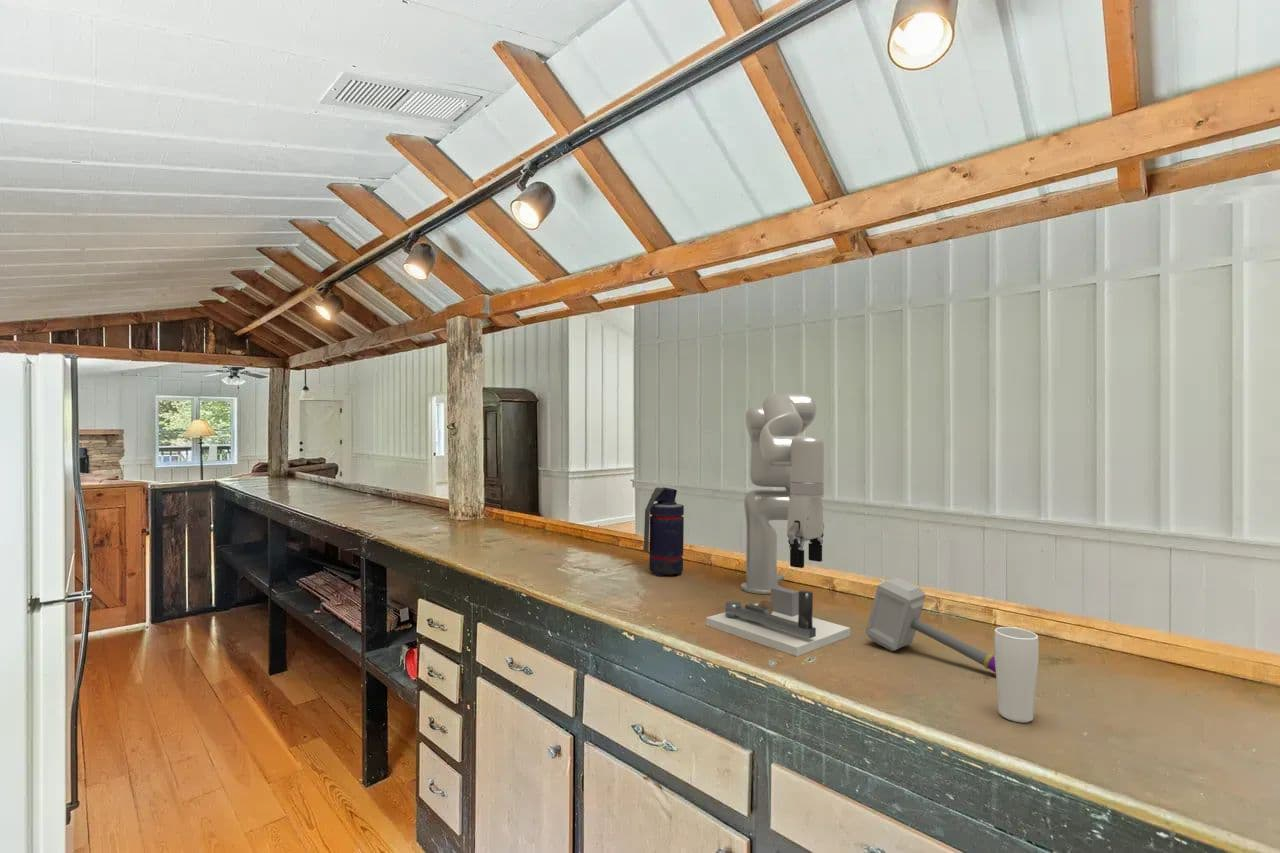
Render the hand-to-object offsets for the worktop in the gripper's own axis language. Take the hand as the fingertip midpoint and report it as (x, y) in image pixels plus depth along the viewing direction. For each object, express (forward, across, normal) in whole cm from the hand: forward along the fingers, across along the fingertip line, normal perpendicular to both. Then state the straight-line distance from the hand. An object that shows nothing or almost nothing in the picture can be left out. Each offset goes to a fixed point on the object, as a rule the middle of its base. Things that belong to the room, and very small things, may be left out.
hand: (806, 563), depth 143 cm
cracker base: (+19, -7, -11) cm, 24 cm away
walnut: (+17, -9, -15) cm, 24 cm away
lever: (+17, -3, -11) cm, 21 cm away
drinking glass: (+20, +7, +43) cm, 48 cm away
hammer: (+20, -13, +25) cm, 35 cm away
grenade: (+19, -37, -70) cm, 82 cm away
